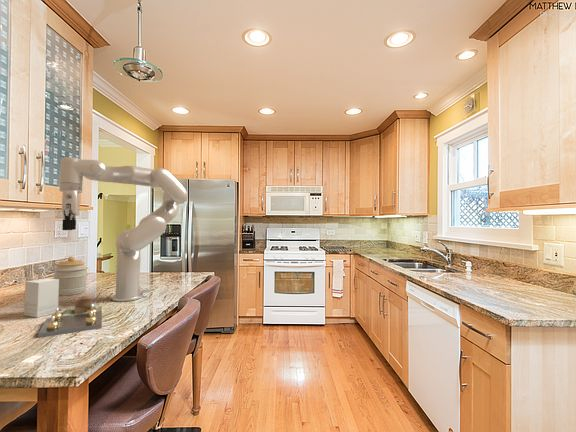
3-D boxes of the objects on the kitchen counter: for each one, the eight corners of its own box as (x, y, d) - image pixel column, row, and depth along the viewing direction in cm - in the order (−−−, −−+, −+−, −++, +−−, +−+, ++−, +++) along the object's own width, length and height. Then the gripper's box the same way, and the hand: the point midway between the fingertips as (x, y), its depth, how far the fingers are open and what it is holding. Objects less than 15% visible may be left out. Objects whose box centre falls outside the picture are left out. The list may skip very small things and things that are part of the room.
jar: (92, 291, 144) (93, 256, 145) (62, 297, 132) (64, 258, 133) (76, 288, 149) (77, 254, 150) (46, 293, 138) (48, 256, 138)
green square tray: (101, 306, 120) (102, 292, 120) (101, 314, 110) (102, 299, 110) (65, 311, 114) (65, 296, 114) (61, 319, 103) (62, 303, 104)
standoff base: (101, 314, 108) (102, 301, 109) (101, 327, 95) (102, 312, 95) (46, 321, 100) (47, 307, 100) (38, 337, 86) (38, 320, 86)
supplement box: (58, 312, 110) (60, 279, 111) (36, 318, 103) (37, 282, 104) (45, 310, 113) (47, 277, 113) (23, 315, 106) (24, 281, 106)
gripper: (79, 186, 113) (78, 230, 112) (84, 190, 128) (82, 229, 127) (55, 185, 109) (53, 230, 109) (63, 189, 124) (61, 229, 123)
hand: (69, 229), depth 118 cm, fingers open, 9 cm apart
